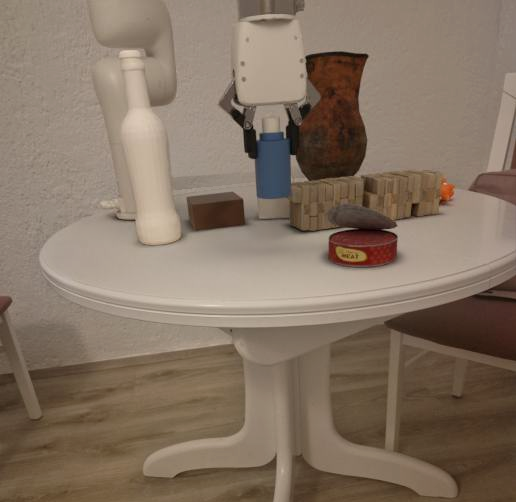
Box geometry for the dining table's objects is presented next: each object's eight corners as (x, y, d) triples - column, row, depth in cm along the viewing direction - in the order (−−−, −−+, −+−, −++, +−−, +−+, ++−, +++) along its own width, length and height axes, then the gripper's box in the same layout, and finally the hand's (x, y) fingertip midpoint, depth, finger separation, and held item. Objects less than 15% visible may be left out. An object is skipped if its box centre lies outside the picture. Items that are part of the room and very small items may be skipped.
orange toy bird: (411, 170, 105) (442, 177, 95) (440, 178, 108) (472, 186, 97) (403, 193, 107) (432, 202, 97) (431, 201, 110) (462, 211, 99)
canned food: (326, 285, 74) (306, 224, 74) (382, 268, 77) (363, 208, 76) (359, 271, 63) (335, 198, 63) (423, 251, 66) (400, 181, 65)
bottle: (190, 234, 91) (165, 49, 77) (169, 246, 84) (138, 46, 70) (152, 234, 93) (122, 54, 80) (129, 245, 87) (92, 51, 73)
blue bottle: (261, 200, 72) (257, 119, 67) (253, 194, 76) (248, 118, 71) (296, 196, 73) (294, 116, 68) (285, 191, 77) (283, 115, 72)
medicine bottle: (294, 210, 104) (292, 151, 98) (293, 218, 98) (291, 155, 92) (261, 212, 105) (258, 153, 99) (258, 219, 98) (254, 157, 93)
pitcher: (372, 198, 111) (378, 45, 97) (280, 205, 111) (272, 54, 97) (358, 186, 125) (361, 53, 112) (276, 193, 126) (270, 60, 112)
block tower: (416, 211, 99) (281, 224, 93) (420, 168, 95) (280, 178, 89) (438, 218, 92) (294, 233, 86) (444, 172, 88) (294, 184, 82)
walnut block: (195, 230, 93) (192, 204, 91) (189, 220, 102) (186, 196, 100) (245, 224, 95) (243, 198, 93) (235, 215, 104) (233, 191, 102)
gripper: (317, 13, 69) (317, 149, 77) (198, 17, 65) (211, 159, 74) (337, 3, 62) (335, 153, 70) (206, 7, 59) (220, 164, 67)
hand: (272, 155), depth 72 cm, fingers closed on blue bottle, 5 cm apart
